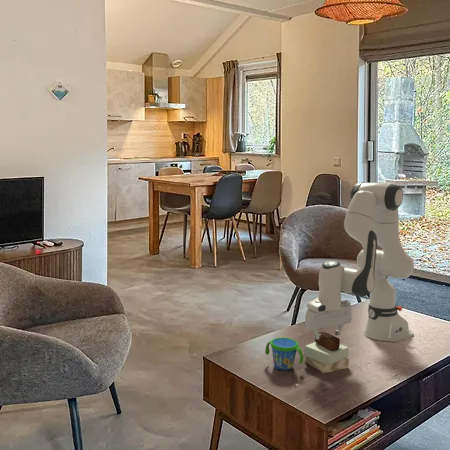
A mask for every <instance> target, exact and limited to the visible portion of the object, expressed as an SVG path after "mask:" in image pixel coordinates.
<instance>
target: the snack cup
mask: <svg viewBox="0 0 450 450" xmlns="http://www.w3.org/2000/svg"><path fill="white" fill-rule="evenodd" d="M270 347H271V351H272V361H273V366H274V368H275V369H278V370H282V371H284V372H285V371H289V370H292V369H293V367H294V365H295V361H296V355H297V352H298V354H299V361H298V362H299V363H298V364H299V365H301V364H302V363H303V361H304V354H303V350H302V348H301V347H300V346H299V342H298V341H297V340H295V339H293V338H289V337H276V338H273V339H272V340H269V341H268V342H267V343H266V345H265V355H267V356H269V354H270V353H271V351H270Z"/></svg>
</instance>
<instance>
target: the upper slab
mask: <svg viewBox="0 0 450 450" xmlns="http://www.w3.org/2000/svg"><path fill="white" fill-rule="evenodd" d="M349 348H350V347H349V346H346V345H343V344H341V343H340V346H339V349H338V350H335V351H330V350H328V349H326V348H325V347H323V346H321V345H319V344H318V343H316V342H315V341H314V342H312V343H309V344H306V345H305V346H304V357H305V356H307V357H310V358H312V359H315V360H317V361H320V362H322V363H325V364H327V365H331V364H333V363H335V362H338V361H340V360H342V359H344V358H347V359H348V357H349Z"/></svg>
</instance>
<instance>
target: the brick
mask: <svg viewBox="0 0 450 450" xmlns="http://www.w3.org/2000/svg"><path fill="white" fill-rule="evenodd" d="M318 333H319V334H320V335H321V339H316V338H315V337H314V342H316V343H318V344H319V345H321V346H323V347H325V348H326V349H328V350H330V351H335V350H338V349H339V346H340V344H341V343H340V341H341V339H340V338H339V337H337V336H336V335H333V334H330V333H328V332H326V331H318Z"/></svg>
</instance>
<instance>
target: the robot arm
mask: <svg viewBox="0 0 450 450" xmlns="http://www.w3.org/2000/svg"><path fill="white" fill-rule="evenodd" d="M349 195H350V201H349V205H348V207H347V210H346V213H345V214H346V215H345V216H344V217H345V218H344V221H343V227H344V230H345V232H346V233H347V235H348V236H349V237H351V238H352V239H354V240H355V241H356V242H358V243H360V245H361V247H362V250H360V252H358V255H357V257H356V263H357V267H358V268H359V269H357V268H351V267H348V266H344V265H342V264H341V262H339V261H337V260H327V261H324V262H323V263H321V264H320V269H319V272H318V273H319V274H318V288H319V290H318V295H317V297H315V298H314V299H312V300H311V301H308V302H307V303H306V308H307V310H306V312H305V315H304V327H306V329H307V330H310V331H313V332H314V334H315V335H314V339H315V338H316V339H321V335H320V334H319V333H318V332H320V330H321V329H325V328H326V329H327V328H332V327H336V326H337V328H336V329H335V331H334V334H335V335H334V336H336V337H337V336H341V332H342V330H343V328H344V325H347V324H351V322H352V318H353V317H352V306H351V305H352V303H351V302H350V301H349V300H347V299H345V300H342V293H341V292H345V293H349V294H353V295H355V296H358V297H360V298H361V297H362V298H364V297H366V296H369V303H368V308H367V312H368V315H367V322H366V325H365V330H364V335H365V336H366V337H367V338H369V339H373V340H376V341H382V342H389V343H390V342H391V343H397V342H400V341H402V340H406V339H407V338H410V337H414V336H415V333H414V331H412V330H411V329H409V322H408V320H406V319H405V318H404V317H403V316H401V315H400V314H399V312H402V311H403V307H402V306H400V305H396V299H397V298H396V297H397V296H396V295H397V291H396V287H395V286H394V285H393V284H392V283H390V282H389V280H388V279H387V277H388V278H392V279H393V278H394V279H407V278H409V277H410V276H411V275H413V272H414V269H415V262H414V260H413V259H412V257H411V256H410V255H409V254H408V253H407V252H406V251H405V250H404V248H403V246H402V245H403V244H402V243H401V240H400V230H399V225H400V224H399V222H400V221H399V220H400V218H399V207H401V205H402V204H403V200H404V191H403V189H402V188H401V187H400V185H397V184H393V183H384V182H379V181H378V182H366V181H365V182H364V181H363V182H357V183H355V184H354V185H353V186H352V187H351V189H350V194H349ZM377 244H378V245H379V246H380V247H381V249H377V246H378V245H377ZM398 311H399V312H398Z"/></svg>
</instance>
